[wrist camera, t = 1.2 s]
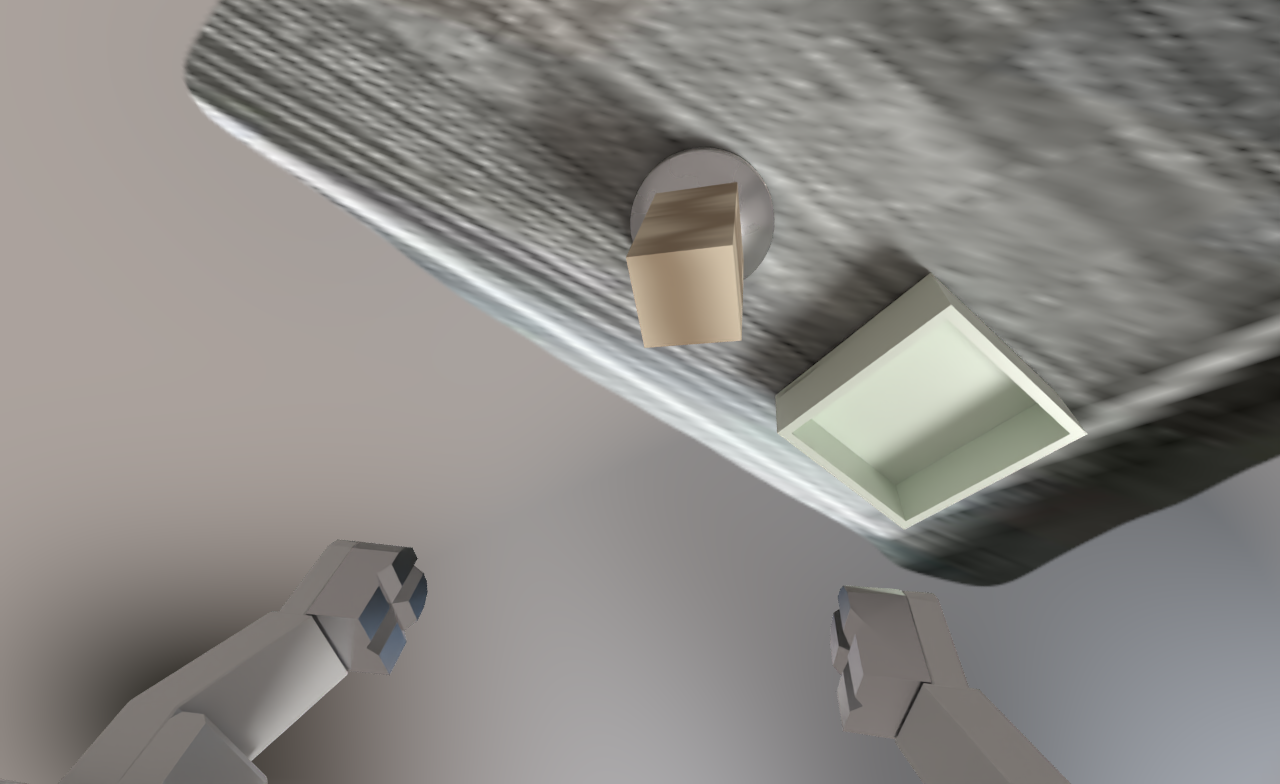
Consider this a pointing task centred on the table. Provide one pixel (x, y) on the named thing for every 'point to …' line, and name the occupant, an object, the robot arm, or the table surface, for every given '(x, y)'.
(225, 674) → the robot arm
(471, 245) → the table surface
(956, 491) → the bin
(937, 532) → the table surface
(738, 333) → the tan rectangular block
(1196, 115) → the table surface
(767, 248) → the grey pot lid
